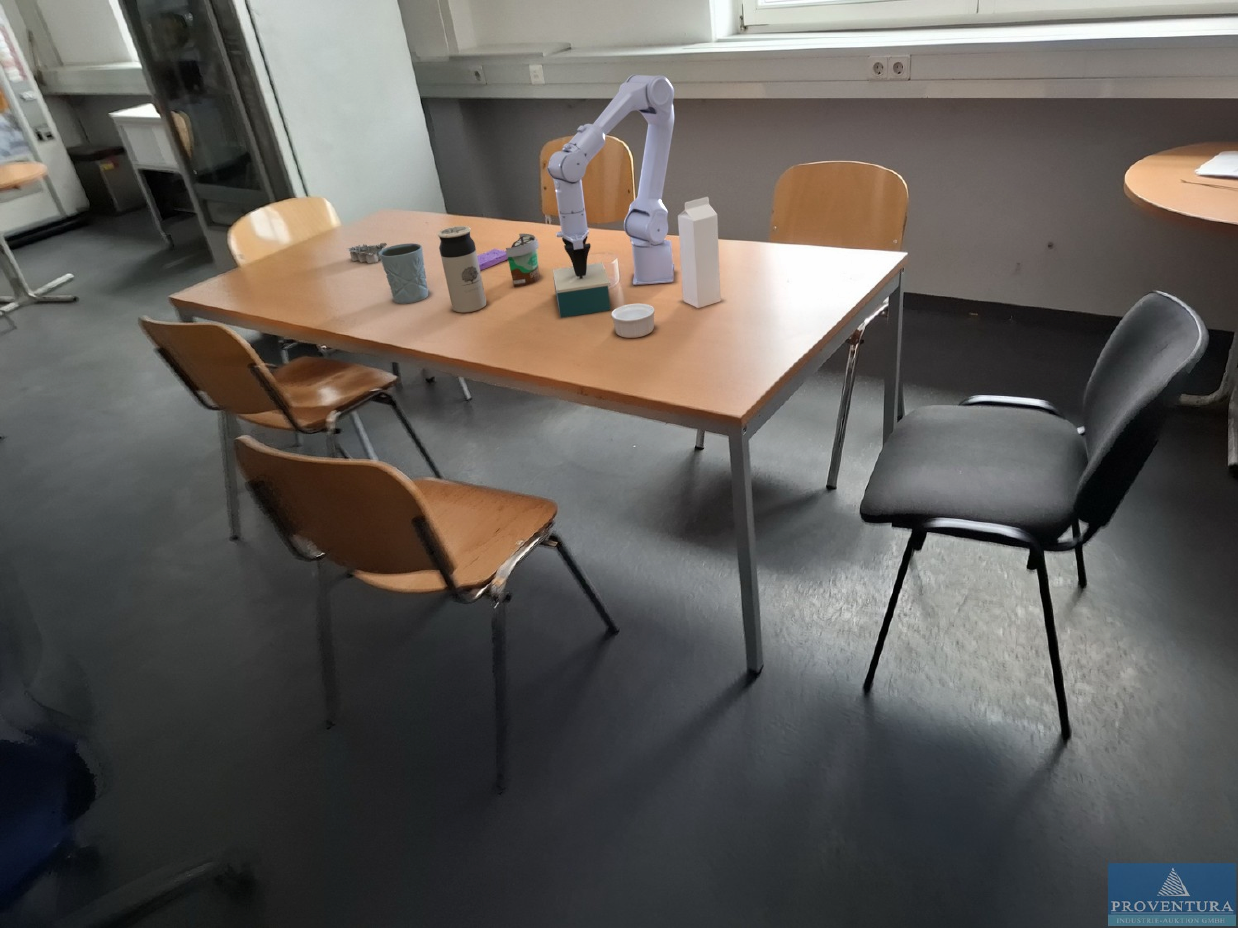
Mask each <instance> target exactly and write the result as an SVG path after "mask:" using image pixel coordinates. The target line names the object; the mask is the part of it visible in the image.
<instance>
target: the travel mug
mask: <svg viewBox="0 0 1238 928" xmlns="http://www.w3.org/2000/svg"><path fill="white" fill-rule="evenodd" d="M471 230H472V229H471V227H470V226H467V225H455V226H449V227H446V228H442V229H440V230H439V231H438V232H436V233H437V234H436V235H437V237H438V238H439V240H440V241H439V242H440V243H439V247H438V249H439V253H440V254H439V255H440V258H441V263H442V267H443V272H444V277H445V281H446V286H447V290H448V294H449V299H450V303H451V308H452V310H453V311H454V312H457V313H462V314H466V313H467V314H468V313H473V312H476V311H479V310H481V309H483V308H485V306H486V305H487V298H486V293H485V289H484V283H483V279H482V274H481V270H480V268H479V263H478V258H477V255H478V252H477V248H476V243H475V241H474V240H473V238H472V237H471Z"/></svg>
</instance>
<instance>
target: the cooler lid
mask: <svg viewBox="0 0 1238 928" xmlns="http://www.w3.org/2000/svg"><path fill="white" fill-rule="evenodd" d="M551 271H552V277H553V276H554V278H553V282H554V281H555V285H554V287H555V286H556V290H557V293H562V292H569V291H576V290H582V289H589V288H596V287H603V286H608V287H609V286H611V281H610V278H609V276H608V273H607V271H606V268H605V266H604V263H603V262H593V263H587V269H586V275H585V276H578V277H577V276H576V274H575V271H574V268H573V266H566V267H559V268H552V270H551Z"/></svg>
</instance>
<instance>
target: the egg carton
mask: <svg viewBox="0 0 1238 928" xmlns="http://www.w3.org/2000/svg"><path fill="white" fill-rule="evenodd" d="M387 246H388V244H387V243H386V242H381V243H379V244H372V245H367V244H362V246H361V245H360V244H358V245H355V246H351V247H349V248H348V247H346V249H347V251H349V255H350V259H351V261H352V262H356V261H359V263H365V262H367V264H375V263H379V261H381V259H380V256H379V252H380V251H381V250H383V249H385V248H387Z"/></svg>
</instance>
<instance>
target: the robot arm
mask: <svg viewBox="0 0 1238 928" xmlns="http://www.w3.org/2000/svg"><path fill="white" fill-rule="evenodd" d="M675 90H676V89H675V88H674V87H673V85H672V83H671V82H670V80H669V79H668V78H667V77H666V76H664V75H646V74H645V75H644V74H639V73H633V74H631V75H629V76H628V77H627V79H626V80H625V81H624V82H623V83H621V84H620V86H619V89H618V92H617V93H616V95H615V96H614V97H613V98H612V100H611V101H610V102H609V103H608V105H607V106H606V107H605V109H604V110H603V111H602V113H601V114H599V116H598V118H596V120H595V121H594V122H593V123H585V124H584V125H579V127H578V128H577V129H576V131H577V132H576V134H575V135H574V136H573V137H572V138H571V139H570V140H569V141H568V142H566V143H565V144H563V145H562V150H559V151H555V152H554V153H552V155H551V156H550V157H549V160H548V165H547V166H546V171H547V174H548V175H549V177H551V179H552V180H553V186H554V189H555V197H556V204H557V210H558V217H559V225H560V231H557V232H556V233H555V235H556V238H561V241H562V242H563V244H564V245H563V247H564V251H565V252H566V253H567V255H568V257H569V259H570V261H571V265H572V267H573V268H574V271H575V274H576V276H577V277H578V276H585V275H586V269H587V264H588V256H589V252H590V250H591V247H592V245H591V243H589V242H588V243H587V240H588V235H589V233H590V231H589V228H588V222H587V213H586V207H585V205H586V204H585V198H584V192H583V191H584V189H583V181H582V179H584V177H585V174H586V170H587V166H588V165H589V163H590V162H591V161H592V160H593V158H594V157H596V155H597V154H598V153H599V152H600V151H601V149H602V148H603V147H604V146H605V145H606V136H607V135H608V134H609V133H610V132H611V131H612V130H613V129H614V128H615V127H616V126H617V125H618V124H619V123H620V122H621V121H622V120H623V119H624V118H625V117H627V116H628V114H629V113H631V112H634V111H637V112H638V113H640V114H641V115H642V117H643V118H644V119H645V121H646V122H647V124H648V125H647V131H646V139H645V144H644V151H643V158H642V165H641V172H640V178H639V185H638V192H637V197H636V198H635V199H634V200H633V201H632V202H631V203H630V204H629V209H628V212H627V213H626V216H625V218H624V221H623V229H624V232H625V234H626V235H627V236H628V237H629V240H630V242H631V250H632V259H633V269H634V270H633V271H634V273H633V279H632V285H633V286H642V285H654V284H655V285H656V284H657V285H658V284H668V283H673V282H674V272H676V271H675V264H674V258H673V257H674V256H673V245H672V240H670V239H669V240H668V239H667V240H666V238H667V235H668V233H669V223H668V215H669V211H668V209H667V208H666V206H665V204H664V203H663V201H662V200H663V194H664V187H665V181H666V174H667V167H668V161H669V156H670V151H671V150H670V149H671V143H672V137H673V130H674V125H675V124H674V123H675V109H674V103H673V102H674V98H675V97H674V96H675Z"/></svg>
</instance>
